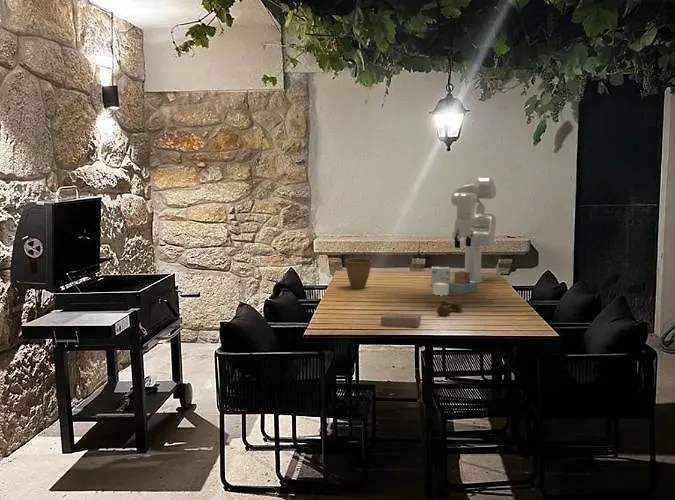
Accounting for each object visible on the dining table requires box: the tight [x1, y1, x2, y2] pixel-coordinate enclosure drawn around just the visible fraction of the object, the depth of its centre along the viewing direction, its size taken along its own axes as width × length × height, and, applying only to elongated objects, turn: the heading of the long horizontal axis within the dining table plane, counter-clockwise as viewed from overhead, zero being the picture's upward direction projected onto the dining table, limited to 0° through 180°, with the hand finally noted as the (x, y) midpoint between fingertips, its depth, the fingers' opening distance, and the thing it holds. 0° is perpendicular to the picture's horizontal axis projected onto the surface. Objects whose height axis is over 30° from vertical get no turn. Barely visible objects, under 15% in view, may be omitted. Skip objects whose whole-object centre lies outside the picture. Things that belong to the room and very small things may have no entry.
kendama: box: [436, 298, 463, 317], centre depth 305 cm, size 6×10×20 cm
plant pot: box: [345, 258, 373, 290], centre depth 367 cm, size 15×15×16 cm
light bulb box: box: [430, 266, 451, 287], centre depth 375 cm, size 11×7×11 cm, turn 84°
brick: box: [380, 312, 422, 328], centre depth 282 cm, size 16×8×5 cm, turn 75°
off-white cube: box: [432, 283, 450, 297], centre depth 349 cm, size 6×6×6 cm
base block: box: [446, 280, 478, 295], centre depth 359 cm, size 12×12×5 cm
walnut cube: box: [454, 270, 470, 284], centre depth 358 cm, size 6×6×6 cm
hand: (462, 247), depth 357 cm, fingers open, 9 cm apart
